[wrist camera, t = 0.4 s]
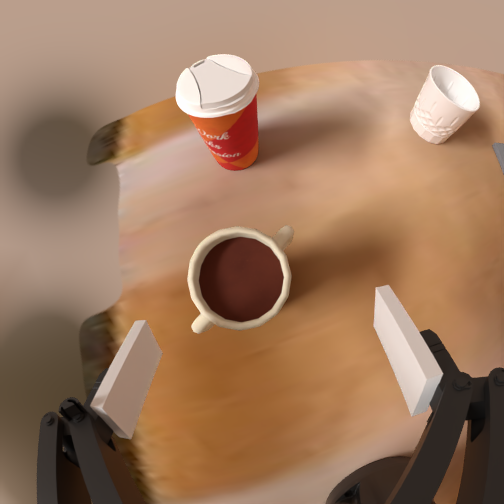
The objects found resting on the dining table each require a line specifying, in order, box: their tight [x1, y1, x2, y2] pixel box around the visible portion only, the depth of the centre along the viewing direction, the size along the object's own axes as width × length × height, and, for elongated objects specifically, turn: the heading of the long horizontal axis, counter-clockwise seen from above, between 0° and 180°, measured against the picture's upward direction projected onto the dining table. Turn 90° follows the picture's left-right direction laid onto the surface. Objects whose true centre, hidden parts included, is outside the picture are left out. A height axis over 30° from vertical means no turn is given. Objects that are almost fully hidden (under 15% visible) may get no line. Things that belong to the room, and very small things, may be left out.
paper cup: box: [176, 54, 259, 171], centre depth 28 cm, size 8×8×14 cm
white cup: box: [410, 65, 480, 144], centre depth 28 cm, size 8×8×10 cm
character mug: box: [187, 225, 294, 334], centre depth 25 cm, size 11×7×13 cm, turn 137°
